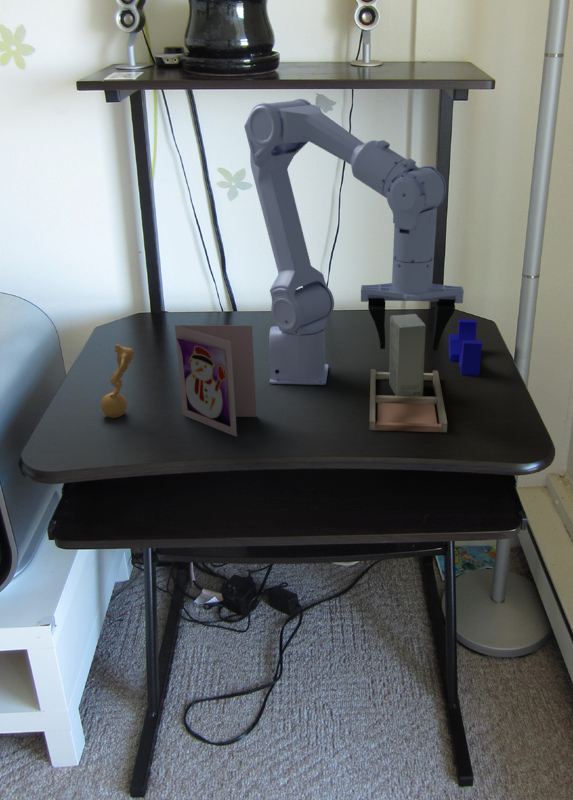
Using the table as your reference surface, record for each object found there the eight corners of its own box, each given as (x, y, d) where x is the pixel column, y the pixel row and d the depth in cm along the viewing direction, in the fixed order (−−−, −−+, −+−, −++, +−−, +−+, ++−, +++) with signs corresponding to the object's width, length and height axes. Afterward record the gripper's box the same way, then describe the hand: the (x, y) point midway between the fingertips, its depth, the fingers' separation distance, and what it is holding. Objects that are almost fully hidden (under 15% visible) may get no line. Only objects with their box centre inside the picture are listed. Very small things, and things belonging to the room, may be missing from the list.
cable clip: (448, 349, 136) (450, 318, 134) (473, 350, 136) (475, 319, 133) (452, 375, 126) (454, 343, 123) (479, 376, 125) (482, 343, 122)
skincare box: (423, 397, 118) (427, 326, 113) (396, 399, 117) (399, 327, 112) (413, 381, 124) (416, 312, 118) (387, 383, 123) (389, 314, 118)
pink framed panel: (369, 430, 108) (369, 421, 108) (370, 377, 125) (370, 369, 125) (446, 432, 107) (447, 423, 106) (437, 378, 124) (437, 370, 124)
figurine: (107, 405, 118) (97, 335, 113) (145, 403, 118) (136, 334, 113) (97, 429, 111) (86, 355, 106) (137, 428, 111) (127, 354, 106)
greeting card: (179, 418, 114) (170, 326, 107) (213, 401, 119) (206, 313, 112) (232, 439, 107) (226, 343, 100) (266, 421, 112) (262, 328, 105)
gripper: (360, 264, 101) (359, 356, 107) (468, 266, 99) (460, 358, 105) (362, 251, 107) (360, 338, 113) (463, 252, 106) (456, 340, 112)
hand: (408, 347), depth 110 cm, fingers open, 7 cm apart
